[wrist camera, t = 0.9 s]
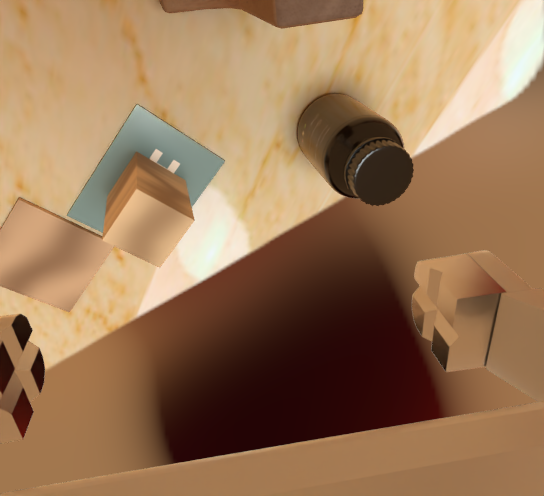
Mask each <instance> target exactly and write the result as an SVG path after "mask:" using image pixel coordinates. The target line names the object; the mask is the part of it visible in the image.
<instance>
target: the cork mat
mask: <svg viewBox="0 0 544 496" xmlns="http://www.w3.org/2000/svg"><path fill="white" fill-rule="evenodd" d="M113 248H114V246H113V245H111V244H109V243H107V242H104V241H102V236H100V235H97V234H95V233H93V232H91V231H89V230H87V229H85V228H83V227H81V226H79V225H76V224H74V223H72V222H70V221H68V220H66V219H64V218H62V217H60V216H58V215H55V214H53V213H51V212H49V211H47V210H45V209H43V208H41V207H39V206H37V205H34V204H32V203H30V202H28V201H26V200H24V199H22V198H20V197H19V199H18V201H17V202H16V204H15V206H14V207H13V209H12V211H11V213H10V214H9V216H8V218H7V219H6V221H5V223H4V225H3V226H2V228H1V230H0V286H2V287H4V288H7V289H9V290H12V291H15V292H17V293H20V294H23V295H25V296H28V297H30V298H33V299H36V300H38V301H41V302H44V303H46V304H49V305H52V306H54V307H57V308H59V309H62V310H65V311H67V312H70V311H71V309H72V308H73V306H74V305H75V303H76V302H77V300H78V299H79V297H80V296H81V295H82V293H83V292H84V290H85V289H86V287H87V286H88V284H89V283H90V281H91V280H92V278H93V277H94V275H95V274H96V273H97V271H98V270H99V268H100V267H101V265H102V264H103V262H104V261H105V259H106V258H107V256H108V255H109V254H110V252H111V251H112V249H113Z"/></svg>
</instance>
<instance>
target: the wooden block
mask: <svg viewBox="0 0 544 496" xmlns="http://www.w3.org/2000/svg"><path fill="white" fill-rule="evenodd" d="M160 4H161V6H162V8H163V9H164V11H165V12H167V13H176V12H184V11H193V10H201V9H217V8H235V9H242V10H244V11H246V12H248V13H250V14H252V15H254V16H256V17H258V18H260V19H262V20H264V21H266V22H268V23H270V24H272V25H274V26H276V27H279V28H288V27H295V26H302V25H309V24H316V23H322V22H329V21H336V20H343V19H350V18H356V17H357V16H359V15H360V14H362V11H363V0H160Z"/></svg>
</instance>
